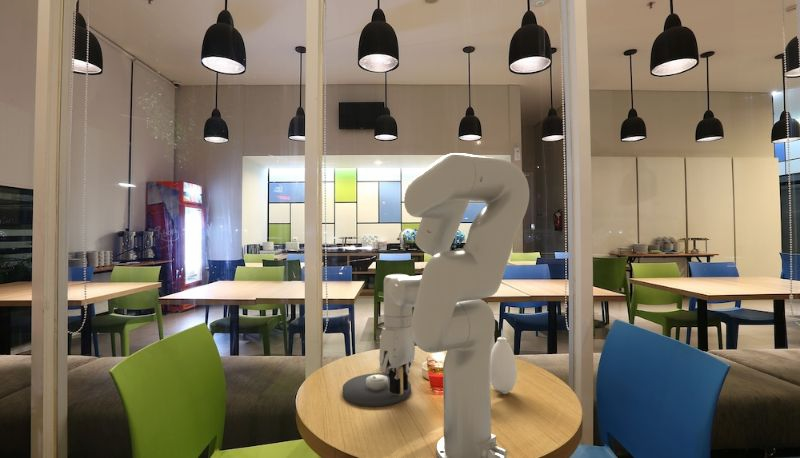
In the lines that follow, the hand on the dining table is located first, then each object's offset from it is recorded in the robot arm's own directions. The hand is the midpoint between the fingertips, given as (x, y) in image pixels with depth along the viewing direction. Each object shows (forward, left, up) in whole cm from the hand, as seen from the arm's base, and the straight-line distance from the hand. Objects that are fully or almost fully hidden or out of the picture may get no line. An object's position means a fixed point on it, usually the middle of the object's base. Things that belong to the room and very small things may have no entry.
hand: (398, 390), depth 98 cm
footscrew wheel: (+8, +1, -2) cm, 8 cm away
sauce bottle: (-15, -26, -4) cm, 30 cm away
